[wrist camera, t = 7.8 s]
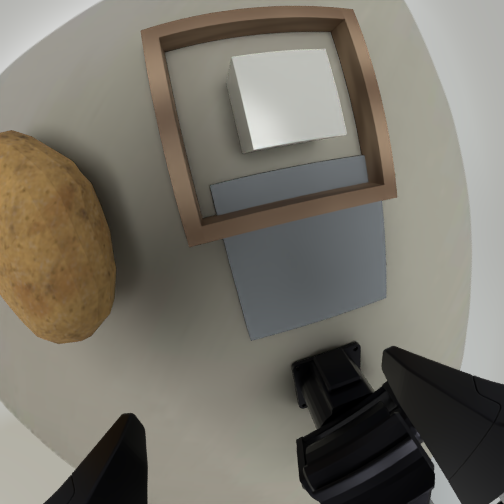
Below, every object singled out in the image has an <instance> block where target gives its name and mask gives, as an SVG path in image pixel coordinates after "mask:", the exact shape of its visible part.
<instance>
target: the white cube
mask: <svg viewBox="0 0 504 504" xmlns="http://www.w3.org/2000/svg"><path fill="white" fill-rule="evenodd" d="M226 85H227V89H228V93H229V98H230V102H231V106H232V110H233V115H234V119H235V123H236V127H237V132H238V136H239V140H240V145H241V149H242V153H243V154H245V153H249V152H254V151H259V150H264V149H269V148H274V147H280V146H285V145H291V144H297V143H303V142H309V141H315V140H321V139H326V138H332V137H338V136H344V135H347V132H346V127H345V122H344V118H343V113H342V109H341V104H340V100H339V96H338V92H337V88H336V84H335V81H334V77H333V73H332V70H331V66H330V63H329V59H328V56H327V53H326V49H303V50H286V51H274V52H264V53H255V54H248V55H241V56H235V57H232V58H231V62H230V67H229V72H228V77H227V81H226Z"/></svg>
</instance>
